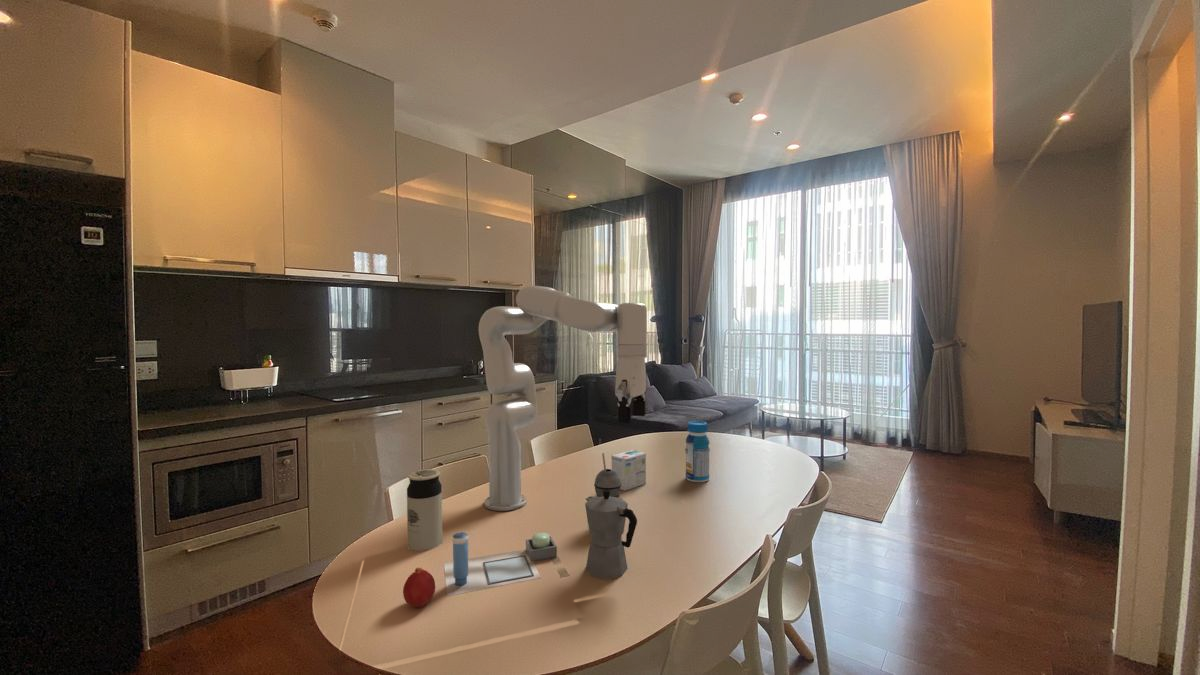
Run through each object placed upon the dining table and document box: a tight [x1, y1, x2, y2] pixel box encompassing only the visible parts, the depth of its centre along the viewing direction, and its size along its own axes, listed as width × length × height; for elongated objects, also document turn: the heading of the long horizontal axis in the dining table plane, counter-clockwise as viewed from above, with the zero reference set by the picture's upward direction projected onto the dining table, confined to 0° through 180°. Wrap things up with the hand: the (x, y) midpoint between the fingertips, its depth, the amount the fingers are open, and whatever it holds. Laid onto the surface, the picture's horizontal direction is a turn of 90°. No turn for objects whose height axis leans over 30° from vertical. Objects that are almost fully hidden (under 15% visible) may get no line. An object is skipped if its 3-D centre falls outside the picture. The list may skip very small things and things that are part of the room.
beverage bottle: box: [684, 420, 711, 483], centre depth 166 cm, size 8×8×20 cm
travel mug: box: [406, 468, 443, 552], centre depth 116 cm, size 8×8×18 cm
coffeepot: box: [584, 490, 638, 580], centre depth 103 cm, size 15×9×18 cm, turn 43°
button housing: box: [525, 535, 558, 563], centre depth 111 cm, size 6×6×3 cm
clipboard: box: [443, 548, 570, 597], centre depth 104 cm, size 16×26×1 cm, turn 110°
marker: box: [452, 531, 469, 586], centre depth 98 cm, size 3×3×10 cm
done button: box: [531, 532, 551, 549], centre depth 111 cm, size 4×4×2 cm
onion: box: [402, 566, 436, 609], centre depth 91 cm, size 6×6×8 cm
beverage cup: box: [593, 452, 621, 498], centre depth 127 cm, size 7×7×20 cm
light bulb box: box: [611, 449, 647, 492], centre depth 161 cm, size 11×7×11 cm, turn 133°
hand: (632, 418), depth 120 cm, fingers open, 9 cm apart
